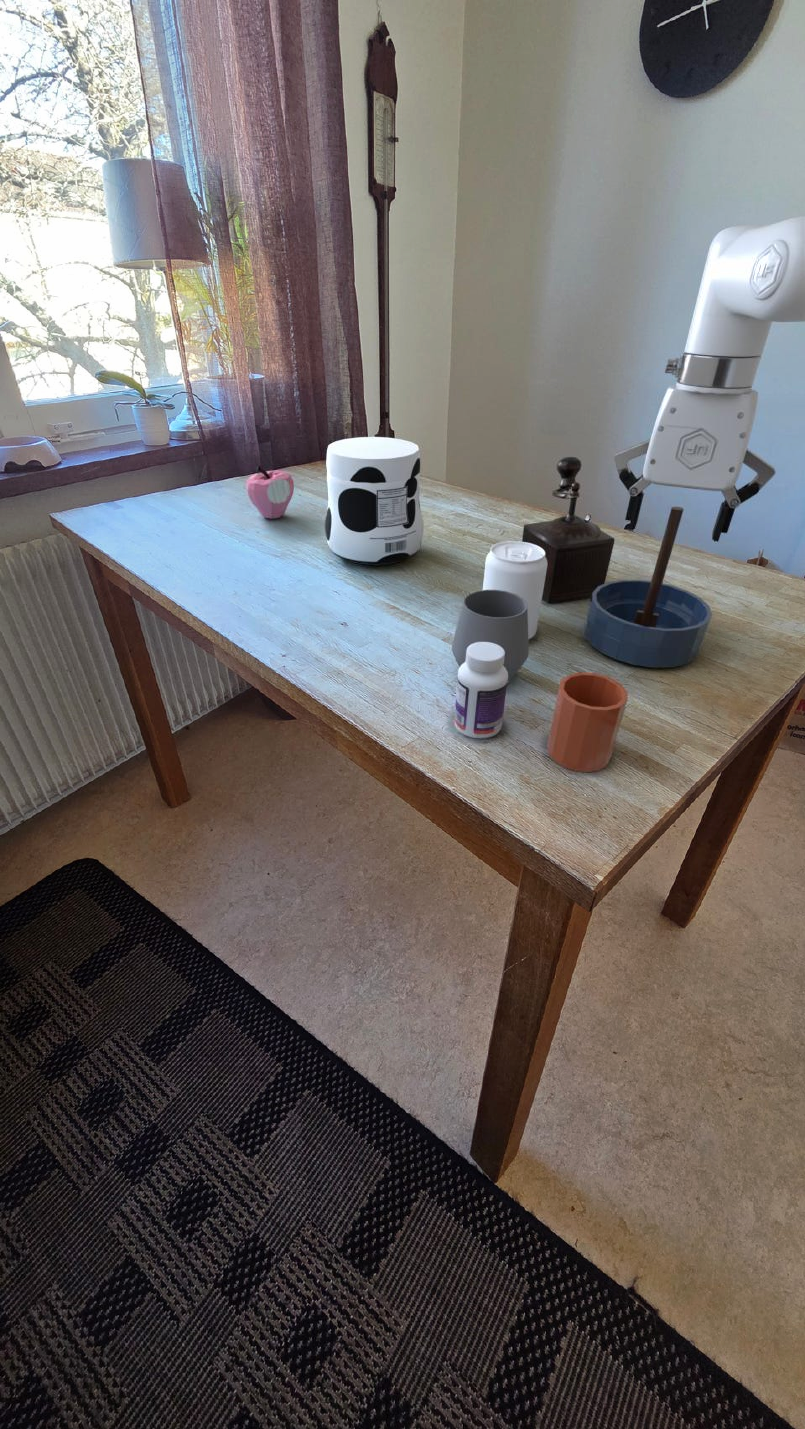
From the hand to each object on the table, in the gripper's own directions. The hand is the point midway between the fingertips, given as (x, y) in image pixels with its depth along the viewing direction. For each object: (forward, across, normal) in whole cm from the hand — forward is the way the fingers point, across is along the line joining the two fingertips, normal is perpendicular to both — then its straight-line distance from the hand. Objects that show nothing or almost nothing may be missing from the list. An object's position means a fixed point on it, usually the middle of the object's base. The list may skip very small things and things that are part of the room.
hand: (673, 532), depth 74 cm
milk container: (+15, -48, +14) cm, 52 cm away
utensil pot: (+16, -4, -27) cm, 32 cm away
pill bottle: (+16, -15, -27) cm, 35 cm away
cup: (+16, -17, -17) cm, 29 cm away
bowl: (+16, 0, 0) cm, 16 cm away
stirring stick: (+15, 0, 0) cm, 15 cm away
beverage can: (+16, -18, -4) cm, 24 cm away
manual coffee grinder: (+16, -16, +16) cm, 27 cm away
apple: (+15, -75, +23) cm, 80 cm away
